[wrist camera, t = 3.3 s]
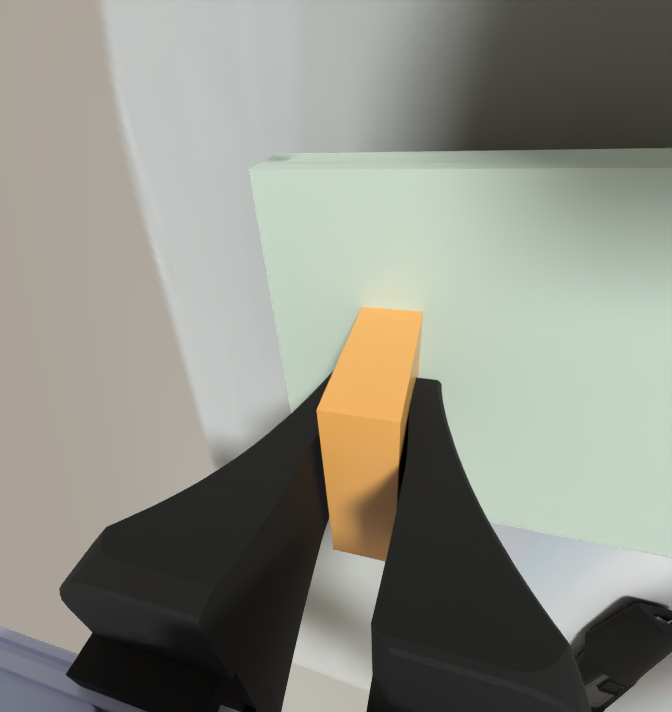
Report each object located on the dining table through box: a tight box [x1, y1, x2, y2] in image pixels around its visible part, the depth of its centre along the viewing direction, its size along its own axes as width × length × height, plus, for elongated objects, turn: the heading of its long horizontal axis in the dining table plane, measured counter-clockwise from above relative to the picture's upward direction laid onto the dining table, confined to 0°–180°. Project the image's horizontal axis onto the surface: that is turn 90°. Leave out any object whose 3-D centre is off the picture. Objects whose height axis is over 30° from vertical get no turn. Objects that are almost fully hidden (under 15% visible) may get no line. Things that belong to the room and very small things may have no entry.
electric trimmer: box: [575, 602, 672, 712], centre depth 27 cm, size 4×16×3 cm, turn 0°
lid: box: [249, 148, 672, 561], centre depth 10 cm, size 16×12×6 cm
